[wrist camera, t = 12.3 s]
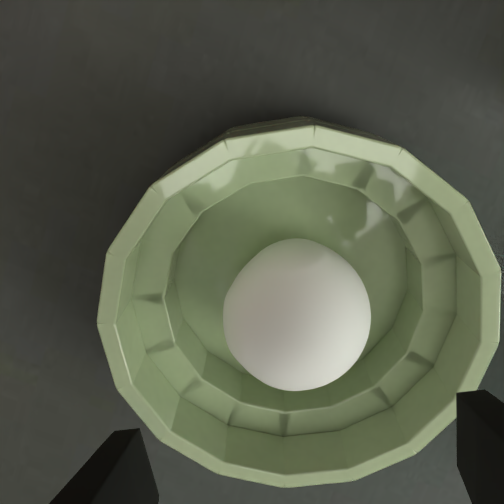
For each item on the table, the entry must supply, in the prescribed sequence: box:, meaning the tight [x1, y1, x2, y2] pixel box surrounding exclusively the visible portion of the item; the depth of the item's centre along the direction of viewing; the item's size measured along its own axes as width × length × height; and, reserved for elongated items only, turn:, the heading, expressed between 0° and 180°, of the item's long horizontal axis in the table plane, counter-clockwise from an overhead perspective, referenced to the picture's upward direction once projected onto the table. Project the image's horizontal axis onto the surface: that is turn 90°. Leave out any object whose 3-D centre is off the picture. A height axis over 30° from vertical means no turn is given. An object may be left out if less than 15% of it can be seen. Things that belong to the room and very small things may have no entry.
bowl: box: [97, 116, 501, 488], centre depth 16 cm, size 12×12×4 cm
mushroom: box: [223, 238, 371, 391], centre depth 16 cm, size 5×5×5 cm
